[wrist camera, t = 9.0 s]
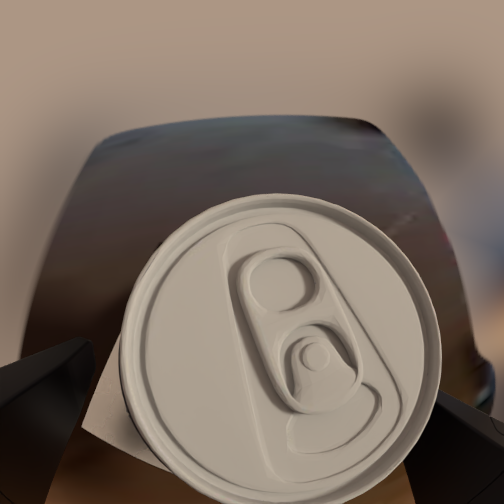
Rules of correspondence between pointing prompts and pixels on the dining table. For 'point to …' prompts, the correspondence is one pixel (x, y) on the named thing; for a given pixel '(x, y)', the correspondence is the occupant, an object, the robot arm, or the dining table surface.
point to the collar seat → (115, 415)
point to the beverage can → (279, 352)
